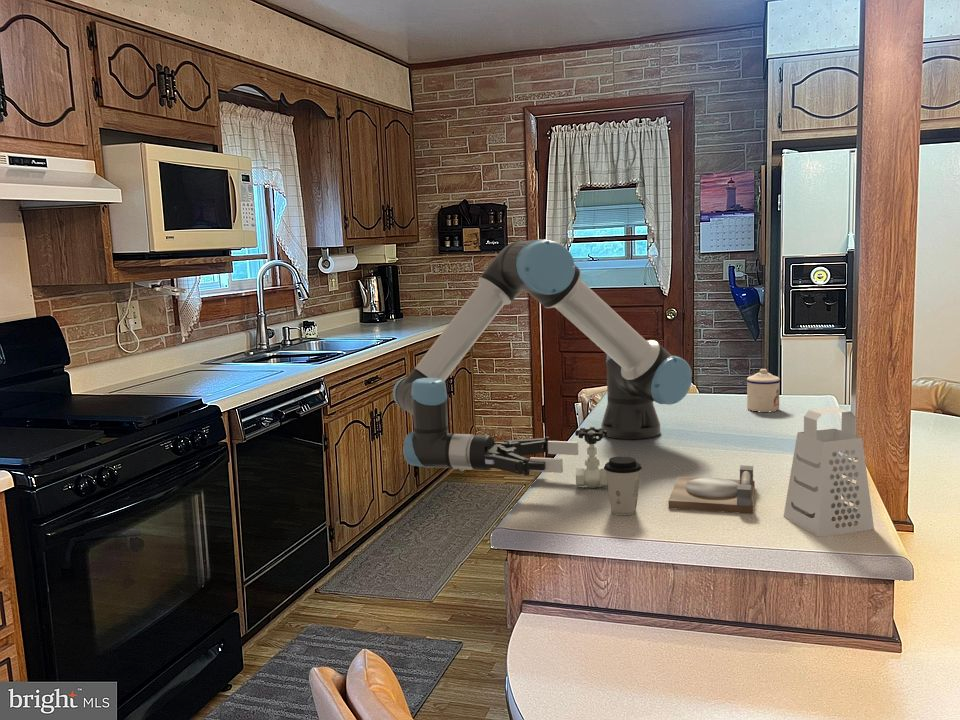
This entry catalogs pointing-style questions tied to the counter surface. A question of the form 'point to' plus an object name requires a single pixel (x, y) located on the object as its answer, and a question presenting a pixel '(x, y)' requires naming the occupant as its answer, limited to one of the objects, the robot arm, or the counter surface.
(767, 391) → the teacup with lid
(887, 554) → the counter surface
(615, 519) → the counter surface
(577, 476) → the valve
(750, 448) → the counter surface
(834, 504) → the grater
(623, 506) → the coffee cup
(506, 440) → the robot arm
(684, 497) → the shaft stand
